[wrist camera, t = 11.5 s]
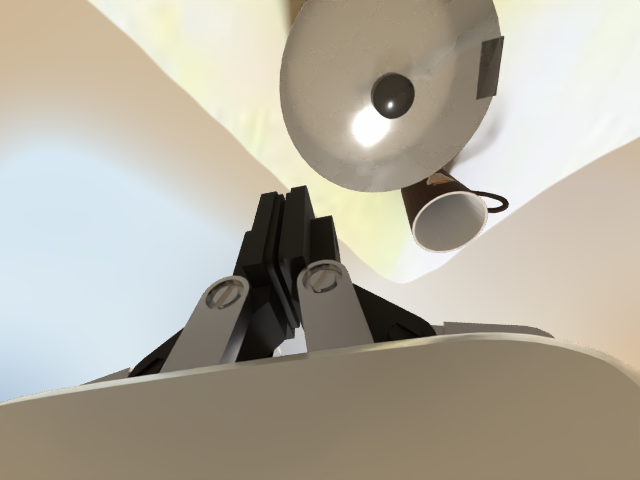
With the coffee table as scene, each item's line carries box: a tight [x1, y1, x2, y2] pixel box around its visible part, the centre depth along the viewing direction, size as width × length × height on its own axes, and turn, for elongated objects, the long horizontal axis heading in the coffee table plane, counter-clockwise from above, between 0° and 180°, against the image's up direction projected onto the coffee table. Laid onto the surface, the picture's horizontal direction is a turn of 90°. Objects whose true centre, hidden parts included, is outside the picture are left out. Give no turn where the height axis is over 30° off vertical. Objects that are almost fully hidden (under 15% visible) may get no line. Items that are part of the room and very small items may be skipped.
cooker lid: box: [280, 0, 504, 192], centre depth 23 cm, size 17×17×3 cm
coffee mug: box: [401, 169, 509, 253], centre depth 39 cm, size 12×9×10 cm
